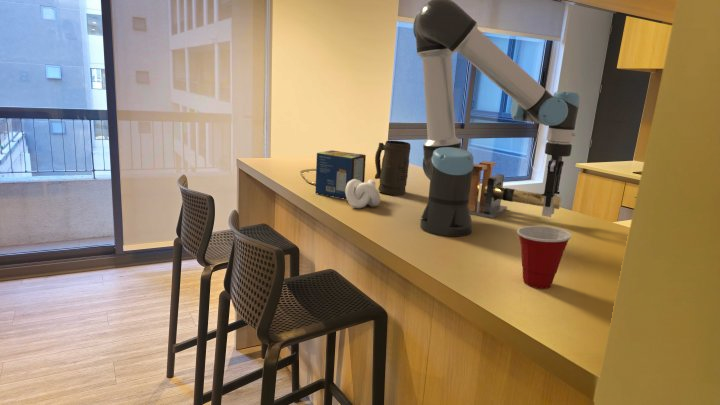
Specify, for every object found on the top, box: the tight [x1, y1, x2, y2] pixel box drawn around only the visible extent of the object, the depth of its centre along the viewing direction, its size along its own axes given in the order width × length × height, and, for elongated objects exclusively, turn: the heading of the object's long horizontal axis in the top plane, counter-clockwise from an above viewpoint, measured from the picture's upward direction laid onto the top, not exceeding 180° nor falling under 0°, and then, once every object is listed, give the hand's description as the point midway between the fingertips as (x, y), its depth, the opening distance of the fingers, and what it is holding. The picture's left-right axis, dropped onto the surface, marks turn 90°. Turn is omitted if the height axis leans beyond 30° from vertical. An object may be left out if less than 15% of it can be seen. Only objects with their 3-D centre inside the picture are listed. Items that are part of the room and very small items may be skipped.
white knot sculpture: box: [345, 178, 381, 209], centre depth 157 cm, size 11×12×9 cm
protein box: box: [315, 150, 367, 200], centre depth 171 cm, size 10×15×16 cm
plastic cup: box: [516, 225, 572, 290], centre depth 99 cm, size 11×11×12 cm
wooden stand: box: [469, 160, 508, 219], centre depth 160 cm, size 16×18×16 cm
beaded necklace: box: [299, 168, 316, 186], centre depth 201 cm, size 19×35×2 cm, turn 16°
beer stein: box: [374, 140, 412, 196], centre depth 180 cm, size 15×11×20 cm
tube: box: [484, 185, 562, 210], centre depth 153 cm, size 4×24×4 cm, turn 58°
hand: (547, 214), depth 149 cm, fingers closed on tube, 4 cm apart
